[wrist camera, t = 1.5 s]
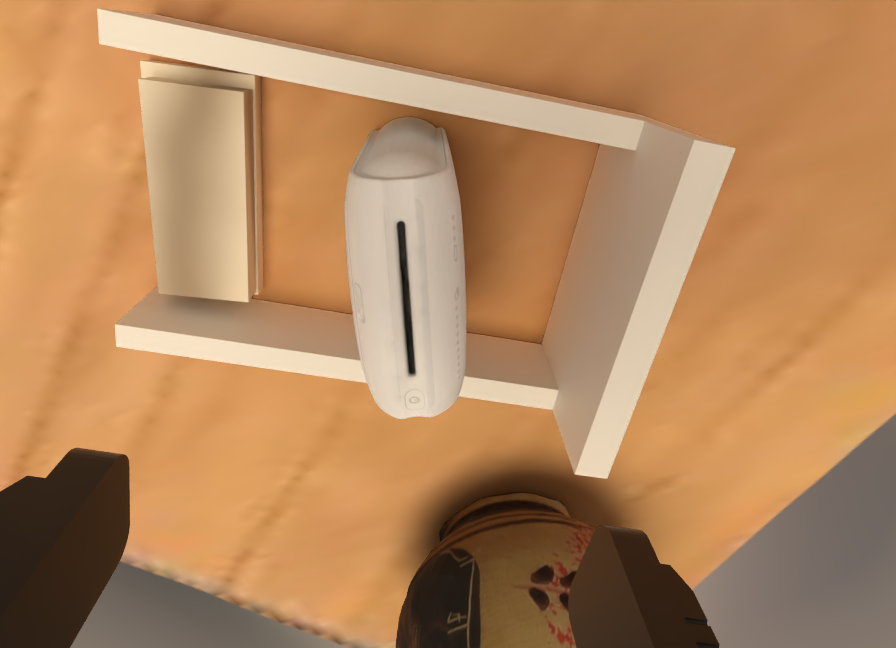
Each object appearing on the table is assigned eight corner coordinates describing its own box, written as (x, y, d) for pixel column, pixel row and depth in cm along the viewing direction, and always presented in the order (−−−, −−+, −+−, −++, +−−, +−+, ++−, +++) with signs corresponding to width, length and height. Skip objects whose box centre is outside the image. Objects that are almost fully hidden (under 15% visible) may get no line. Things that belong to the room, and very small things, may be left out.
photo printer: (458, 306, 33) (474, 441, 22) (381, 310, 33) (359, 447, 22) (451, 113, 29) (467, 161, 18) (363, 117, 29) (323, 167, 17)
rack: (639, 114, 29) (735, 148, 20) (560, 365, 35) (607, 478, 26) (153, 13, 26) (11, 0, 17) (159, 304, 32) (56, 405, 23)
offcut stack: (262, 73, 28) (245, 77, 25) (265, 284, 33) (250, 306, 30) (154, 59, 28) (124, 61, 25) (172, 274, 32) (148, 296, 29)
